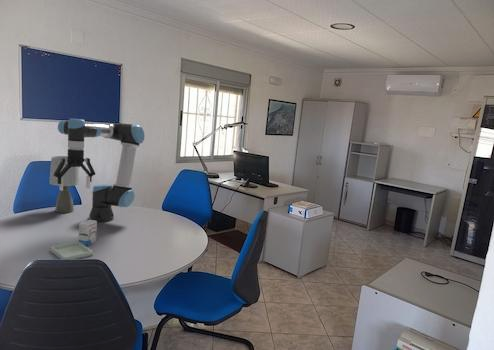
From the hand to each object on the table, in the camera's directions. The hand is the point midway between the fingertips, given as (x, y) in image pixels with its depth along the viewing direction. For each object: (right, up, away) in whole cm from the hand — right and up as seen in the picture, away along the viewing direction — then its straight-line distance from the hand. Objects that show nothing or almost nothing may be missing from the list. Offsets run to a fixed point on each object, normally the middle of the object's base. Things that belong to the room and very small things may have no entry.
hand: (74, 189), depth 177 cm
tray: (+4, -31, -11) cm, 33 cm away
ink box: (+5, -29, +4) cm, 30 cm away
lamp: (-35, -18, +54) cm, 67 cm away
